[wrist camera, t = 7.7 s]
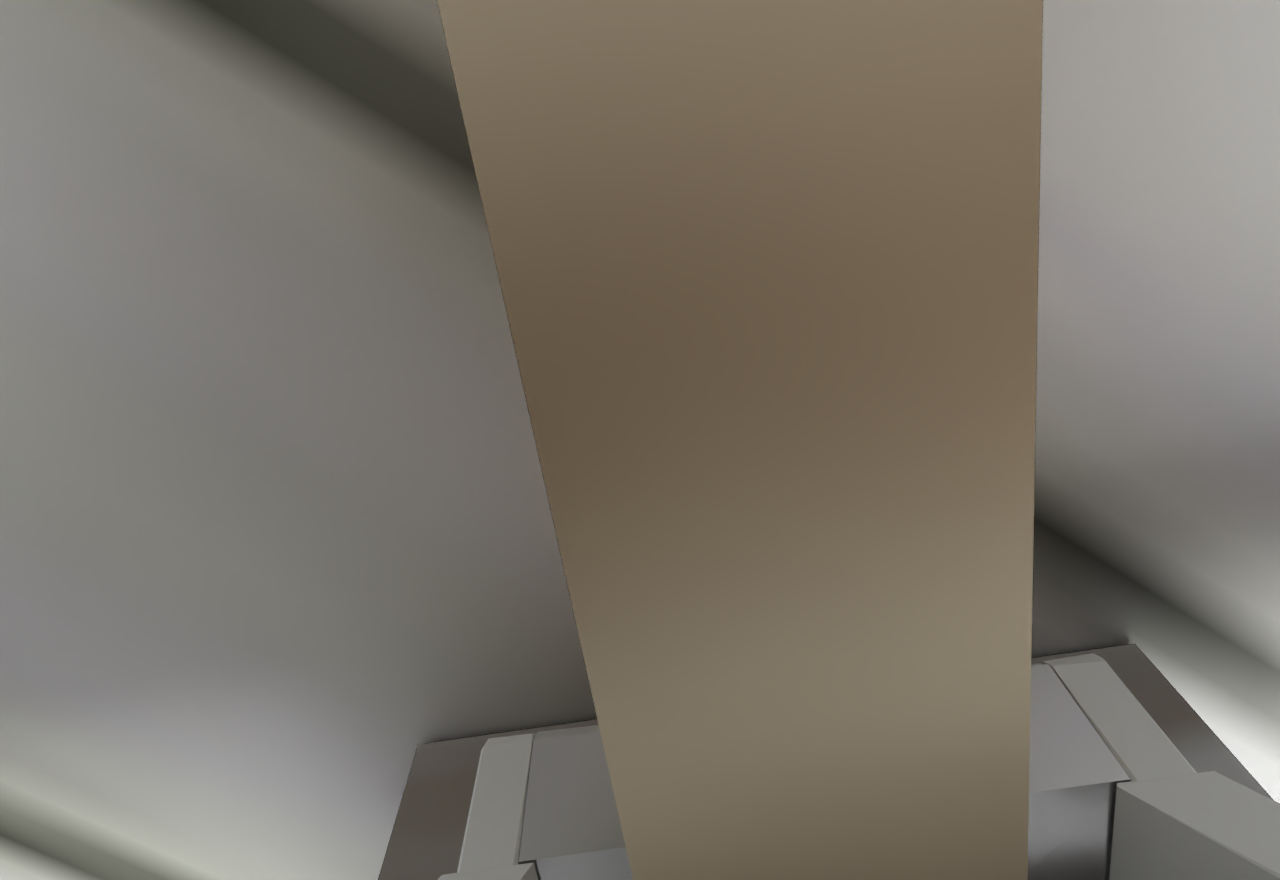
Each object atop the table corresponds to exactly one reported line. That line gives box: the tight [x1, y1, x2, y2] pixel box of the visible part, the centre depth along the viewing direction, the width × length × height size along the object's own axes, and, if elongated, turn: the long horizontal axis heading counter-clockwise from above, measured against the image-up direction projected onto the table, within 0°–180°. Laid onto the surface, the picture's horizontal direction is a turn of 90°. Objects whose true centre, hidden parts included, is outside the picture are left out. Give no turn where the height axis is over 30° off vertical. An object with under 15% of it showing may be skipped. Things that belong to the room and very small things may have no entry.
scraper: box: [378, 0, 1274, 880], centre depth 7 cm, size 14×9×4 cm, turn 9°
